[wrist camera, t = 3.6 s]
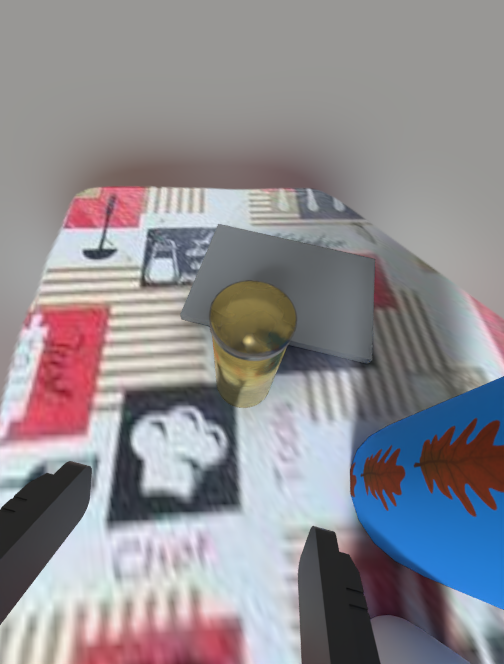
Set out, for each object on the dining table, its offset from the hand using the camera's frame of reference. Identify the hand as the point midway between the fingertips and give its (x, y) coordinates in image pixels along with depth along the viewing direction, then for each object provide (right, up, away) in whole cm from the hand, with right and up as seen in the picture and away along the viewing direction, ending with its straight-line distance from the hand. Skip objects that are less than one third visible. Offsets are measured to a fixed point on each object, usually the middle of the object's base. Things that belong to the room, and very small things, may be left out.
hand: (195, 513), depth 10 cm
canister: (+1, +2, +18) cm, 18 cm away
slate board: (+6, +11, +24) cm, 27 cm away
